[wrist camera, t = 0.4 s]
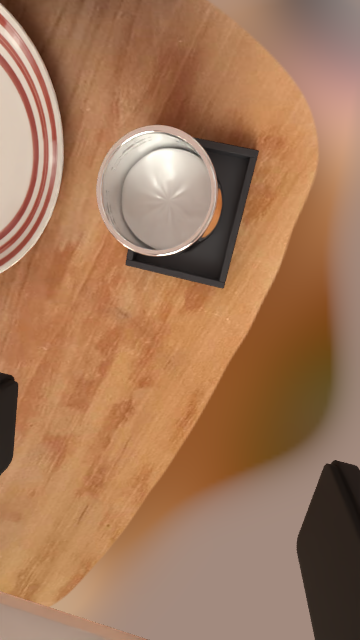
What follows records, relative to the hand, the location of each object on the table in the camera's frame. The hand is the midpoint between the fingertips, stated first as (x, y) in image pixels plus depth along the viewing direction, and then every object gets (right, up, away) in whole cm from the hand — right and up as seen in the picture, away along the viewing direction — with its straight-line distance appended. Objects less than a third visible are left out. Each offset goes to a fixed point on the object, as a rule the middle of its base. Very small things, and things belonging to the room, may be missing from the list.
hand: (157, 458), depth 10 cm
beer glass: (+2, +14, +22) cm, 27 cm away
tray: (+2, +14, +23) cm, 27 cm away
